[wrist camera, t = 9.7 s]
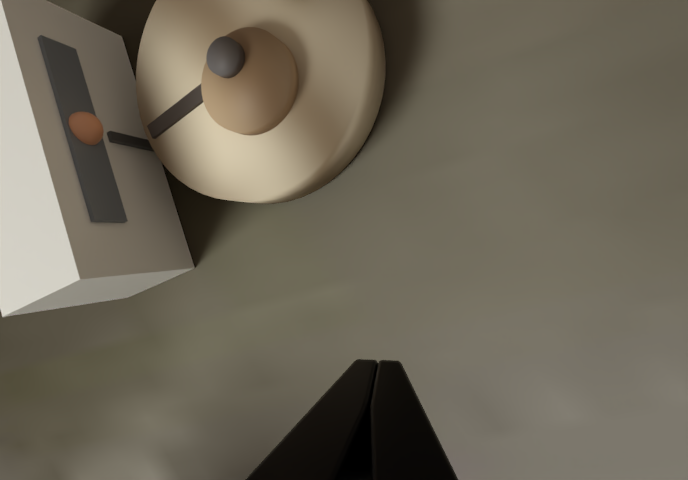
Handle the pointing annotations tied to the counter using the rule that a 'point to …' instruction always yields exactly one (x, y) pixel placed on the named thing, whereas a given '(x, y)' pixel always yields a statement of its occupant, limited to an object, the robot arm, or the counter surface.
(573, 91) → the counter surface
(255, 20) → the cam dial
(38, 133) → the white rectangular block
